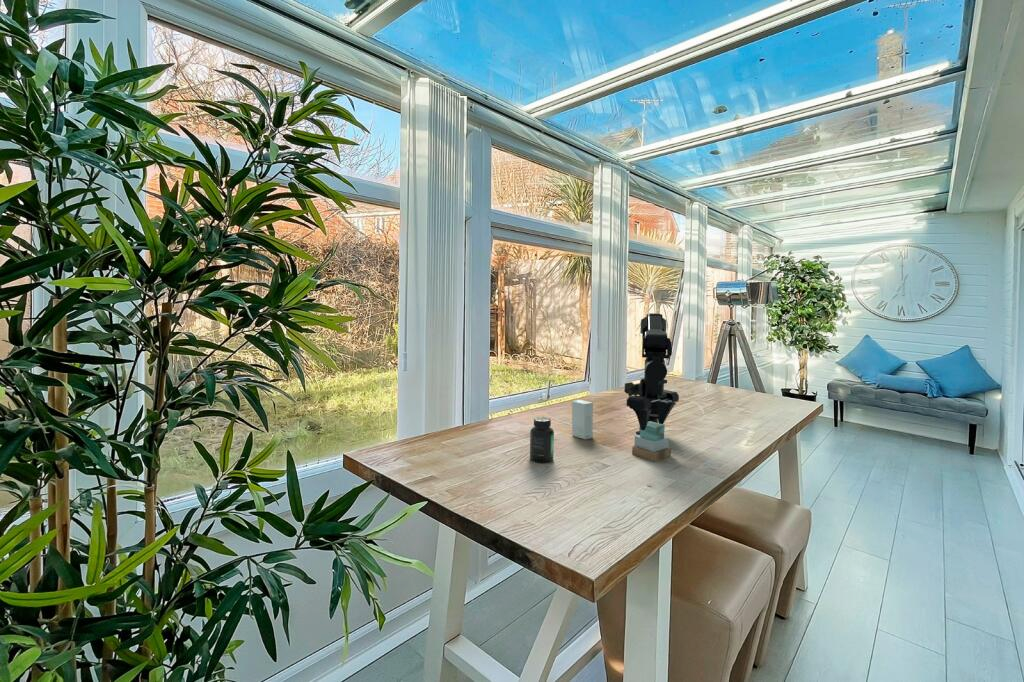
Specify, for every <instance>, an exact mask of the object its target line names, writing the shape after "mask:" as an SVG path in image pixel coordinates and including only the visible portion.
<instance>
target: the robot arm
mask: <svg viewBox="0 0 1024 682" xmlns="http://www.w3.org/2000/svg"><path fill="white" fill-rule="evenodd" d="M639 334H642V335H641V339H642V342H641V357H642V358H645V360H644V371H643V372H644V373H643V378H641V379H640V380H639V383H636V384H635V383H634V382H632V381H629V382H626V383H624V388H623V389H624V390H623V392H624V393H625V394H626V395H628V397H627V398H626V406H627V407H628V408H629V409H630V410H632V411H634V413H635V415H636V417H637V421H638V425H639V427H638V428H639V430H638V431H635V434H637V435H640V428H641V430H645V428H646V426H647V423H648V422H649V421H651V422H655V423H659V424H663V425H664V424H665V422H666V420H667V418H668V416H669V414H670V413H671V412H672V410H673V408H674V407H675V406H676V404H677V402H679V400H680V395H679V393H678V392H677V391H672V390H667V389H665V384H667V383H668V379H665V378H666V377H667V375H668V368H667V366H666V361H665V360H666V359H671V357H672V356H673V355H672V353H673V347H672V345H673V344H672V341H671V338H670V337H668V332H667V320H666V319H665V318H664V317H663V314H662V313H657V312H656V313H654V312H653V313H650V312H649V313H646V316H645V317H643V318H642V319H640V333H639Z"/></svg>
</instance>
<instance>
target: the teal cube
mask: <svg viewBox="0 0 1024 682" xmlns="http://www.w3.org/2000/svg"><path fill="white" fill-rule="evenodd" d="M639 428H640V427H639ZM639 435H640V437H642V438H646V439H649V440H652V441H656V440H659V439H662V438H664V437H665V424H664V423H663V424H659V422H658V423H655V422H651V421H649V422H648V423H647V426H646V428H645V430H641V428H640V434H639Z"/></svg>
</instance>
